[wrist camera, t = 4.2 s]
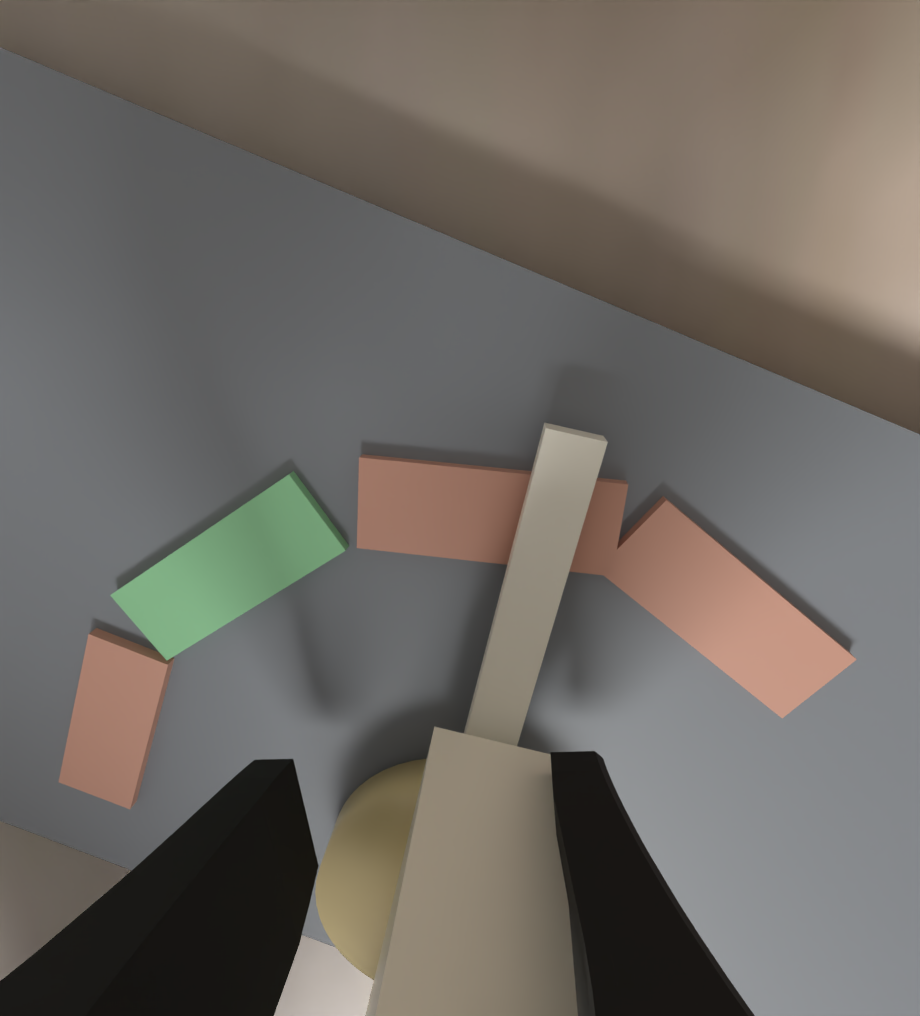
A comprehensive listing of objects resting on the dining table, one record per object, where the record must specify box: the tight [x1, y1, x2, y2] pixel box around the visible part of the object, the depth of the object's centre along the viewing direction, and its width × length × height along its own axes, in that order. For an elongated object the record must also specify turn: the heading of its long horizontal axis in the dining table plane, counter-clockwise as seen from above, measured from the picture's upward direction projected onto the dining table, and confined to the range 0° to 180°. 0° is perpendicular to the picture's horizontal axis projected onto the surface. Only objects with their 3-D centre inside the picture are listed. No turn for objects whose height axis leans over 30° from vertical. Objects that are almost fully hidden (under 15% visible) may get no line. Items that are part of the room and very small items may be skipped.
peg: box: [315, 423, 608, 1016], centre depth 8 cm, size 12×4×5 cm, turn 168°
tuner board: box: [0, 47, 920, 1016], centre depth 10 cm, size 13×24×1 cm, turn 69°
